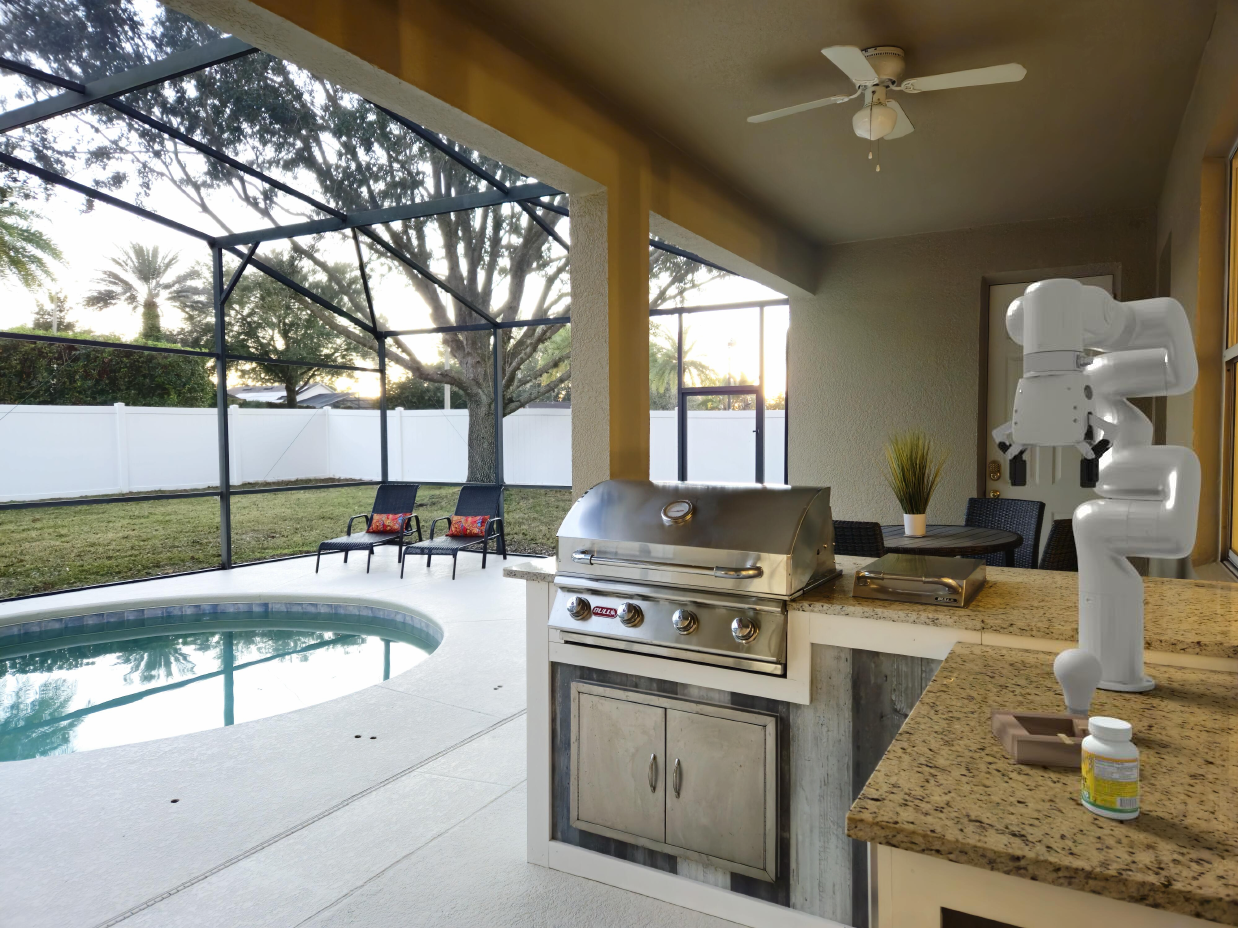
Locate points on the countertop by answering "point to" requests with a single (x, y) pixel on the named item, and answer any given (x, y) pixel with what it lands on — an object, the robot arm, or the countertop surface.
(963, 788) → the countertop surface
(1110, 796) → the supplement bottle
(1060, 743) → the socket block
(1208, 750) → the countertop surface
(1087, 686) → the lightbulb
